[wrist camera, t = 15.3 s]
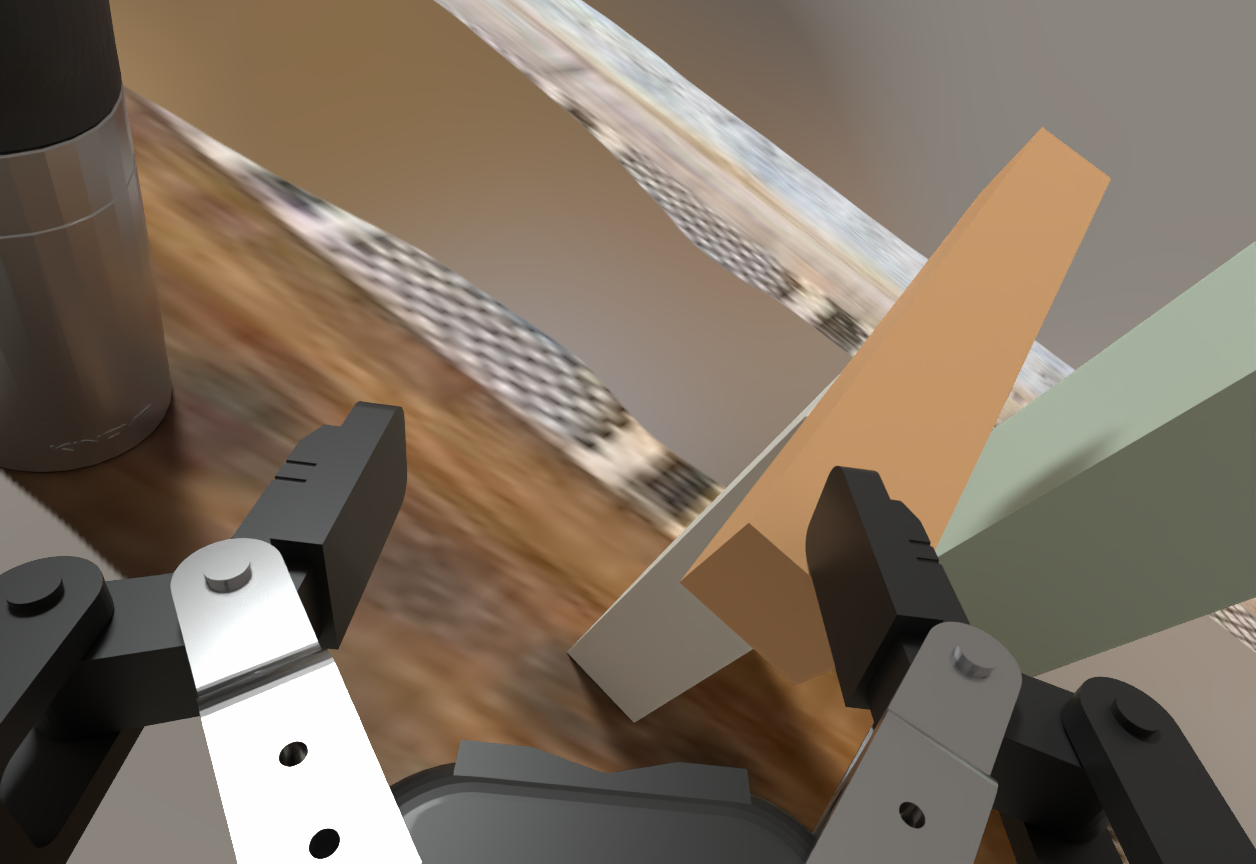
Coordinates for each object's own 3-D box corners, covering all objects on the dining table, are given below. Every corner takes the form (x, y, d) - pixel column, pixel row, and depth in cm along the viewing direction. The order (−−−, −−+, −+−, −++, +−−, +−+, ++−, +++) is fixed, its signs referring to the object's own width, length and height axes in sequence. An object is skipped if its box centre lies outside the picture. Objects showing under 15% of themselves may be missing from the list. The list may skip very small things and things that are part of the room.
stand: (797, 618, 44) (1411, 233, 20) (891, 475, 56) (1349, 127, 32) (930, 748, 42) (1764, 494, 19) (999, 572, 54) (1562, 281, 31)
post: (567, 652, 37) (805, 415, 21) (670, 544, 43) (912, 301, 27) (634, 723, 36) (936, 535, 20) (728, 602, 43) (1012, 387, 26)
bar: (679, 582, 16) (748, 522, 13) (980, 192, 32) (1042, 127, 29) (793, 685, 16) (890, 645, 13) (1042, 240, 31) (1110, 178, 29)
